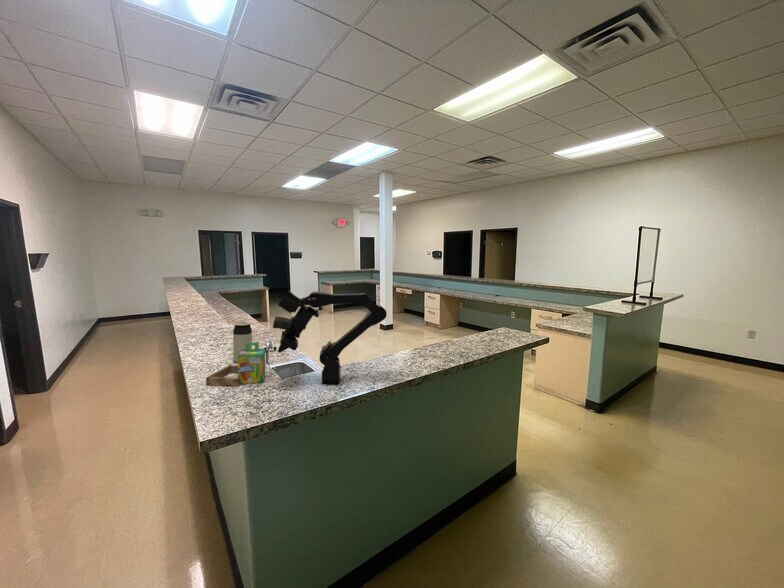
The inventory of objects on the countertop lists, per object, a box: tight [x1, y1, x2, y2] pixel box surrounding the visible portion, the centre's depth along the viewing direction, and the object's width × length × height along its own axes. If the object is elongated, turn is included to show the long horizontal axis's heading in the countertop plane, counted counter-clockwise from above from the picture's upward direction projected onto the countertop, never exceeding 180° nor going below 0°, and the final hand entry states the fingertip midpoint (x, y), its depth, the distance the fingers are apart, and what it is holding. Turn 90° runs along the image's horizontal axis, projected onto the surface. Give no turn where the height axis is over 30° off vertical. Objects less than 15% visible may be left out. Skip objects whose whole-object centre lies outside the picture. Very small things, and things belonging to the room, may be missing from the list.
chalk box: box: [237, 342, 266, 385], centre depth 125 cm, size 9×9×15 cm
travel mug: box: [232, 321, 253, 363], centre depth 149 cm, size 8×8×18 cm
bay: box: [205, 364, 241, 388], centre depth 125 cm, size 12×15×3 cm
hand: (278, 351), depth 123 cm, fingers closed
